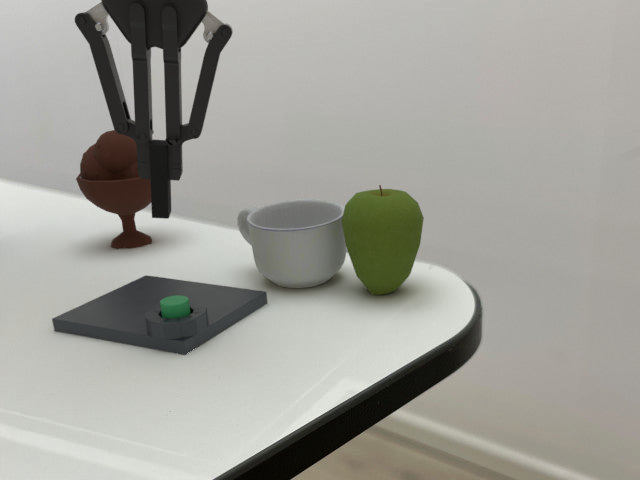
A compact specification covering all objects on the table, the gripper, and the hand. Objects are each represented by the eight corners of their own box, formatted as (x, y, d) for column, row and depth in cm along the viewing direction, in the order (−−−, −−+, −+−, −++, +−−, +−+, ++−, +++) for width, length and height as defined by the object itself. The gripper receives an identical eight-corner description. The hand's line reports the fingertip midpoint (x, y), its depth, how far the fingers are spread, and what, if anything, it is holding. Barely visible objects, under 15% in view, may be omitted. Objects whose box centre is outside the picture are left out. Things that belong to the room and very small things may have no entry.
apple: (397, 311, 77) (396, 197, 72) (328, 298, 81) (322, 189, 76) (437, 285, 84) (438, 179, 79) (371, 274, 88) (368, 173, 83)
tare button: (156, 318, 70) (153, 303, 70) (174, 309, 72) (171, 293, 72) (179, 322, 69) (176, 306, 69) (196, 312, 71) (194, 297, 71)
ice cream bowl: (188, 235, 106) (173, 123, 100) (135, 259, 97) (115, 137, 91) (128, 229, 110) (110, 121, 104) (72, 251, 101) (48, 134, 95)
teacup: (368, 277, 87) (365, 207, 83) (294, 303, 80) (288, 229, 77) (290, 254, 96) (284, 191, 93) (218, 276, 89) (209, 208, 86)
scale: (52, 332, 75) (46, 304, 74) (147, 286, 87) (143, 261, 86) (185, 357, 69) (181, 326, 67) (269, 304, 80) (267, 277, 79)
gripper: (56, -90, 57) (80, 222, 67) (235, -72, 58) (232, 228, 69) (77, -82, 63) (96, 200, 73) (236, -66, 65) (233, 207, 75)
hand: (161, 214), depth 71 cm, fingers closed
